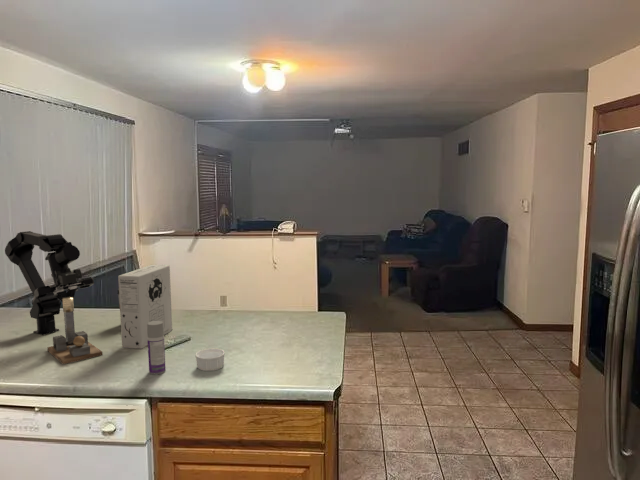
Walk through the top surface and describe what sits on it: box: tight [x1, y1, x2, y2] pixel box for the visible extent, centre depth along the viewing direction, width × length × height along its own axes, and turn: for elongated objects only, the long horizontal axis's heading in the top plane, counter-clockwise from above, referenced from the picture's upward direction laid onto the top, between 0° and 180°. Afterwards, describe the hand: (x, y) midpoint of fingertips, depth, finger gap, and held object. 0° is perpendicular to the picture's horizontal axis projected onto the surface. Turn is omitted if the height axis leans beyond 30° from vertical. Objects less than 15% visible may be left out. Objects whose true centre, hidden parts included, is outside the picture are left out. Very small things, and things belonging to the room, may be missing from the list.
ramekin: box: [195, 347, 226, 372], centre depth 158 cm, size 9×9×4 cm
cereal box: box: [117, 264, 173, 350], centre depth 184 cm, size 22×8×25 cm, turn 168°
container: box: [147, 321, 167, 375], centre depth 153 cm, size 5×5×15 cm
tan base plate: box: [46, 330, 103, 365], centre depth 170 cm, size 17×12×7 cm
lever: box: [61, 297, 76, 346], centre depth 172 cm, size 3×4×16 cm
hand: (71, 310), depth 182 cm, fingers closed
